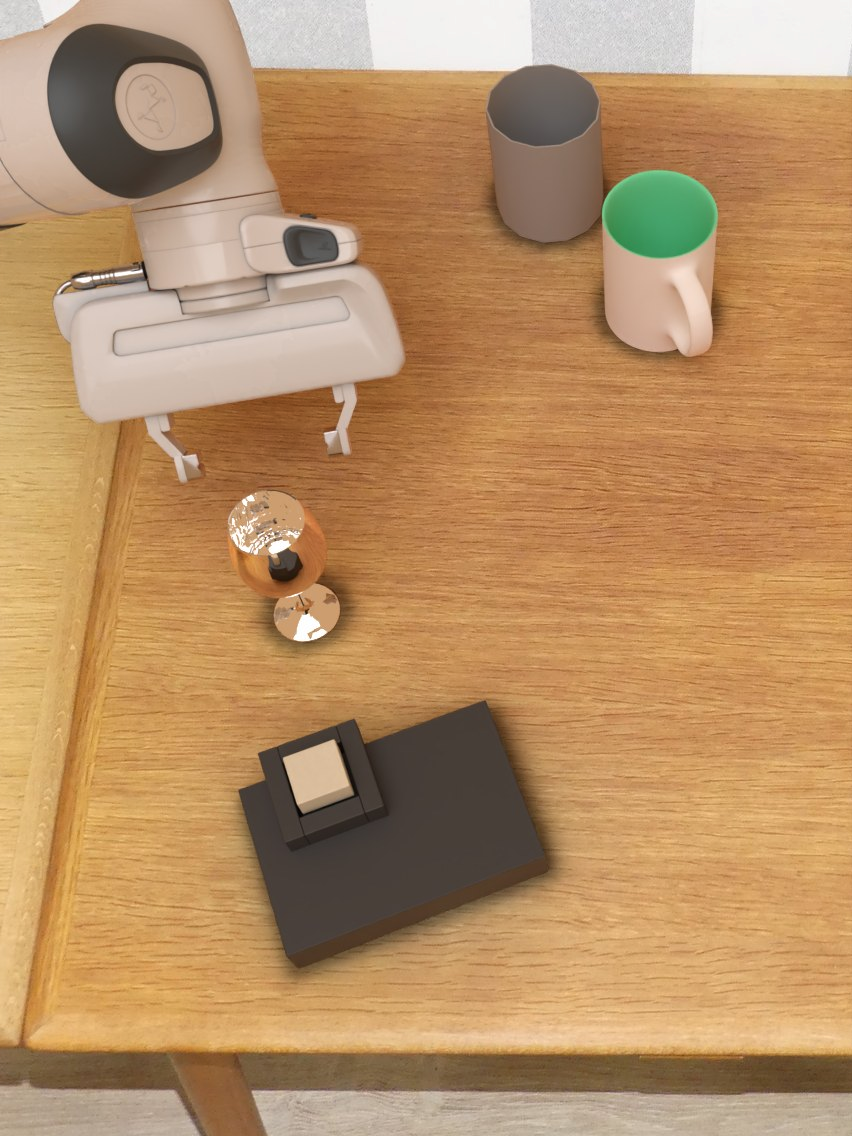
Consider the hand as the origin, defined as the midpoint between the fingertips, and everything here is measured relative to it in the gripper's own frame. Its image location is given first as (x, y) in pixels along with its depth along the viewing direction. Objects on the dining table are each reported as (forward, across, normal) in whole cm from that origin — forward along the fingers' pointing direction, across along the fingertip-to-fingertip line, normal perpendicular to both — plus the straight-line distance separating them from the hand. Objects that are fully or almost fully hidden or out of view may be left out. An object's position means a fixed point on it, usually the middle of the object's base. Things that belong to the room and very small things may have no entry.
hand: (267, 467), depth 93 cm
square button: (+17, +1, -12) cm, 21 cm away
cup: (-13, +23, +24) cm, 35 cm away
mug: (-3, +29, +14) cm, 33 cm away
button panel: (+22, +4, -11) cm, 25 cm away
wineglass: (+10, 0, +1) cm, 11 cm away
